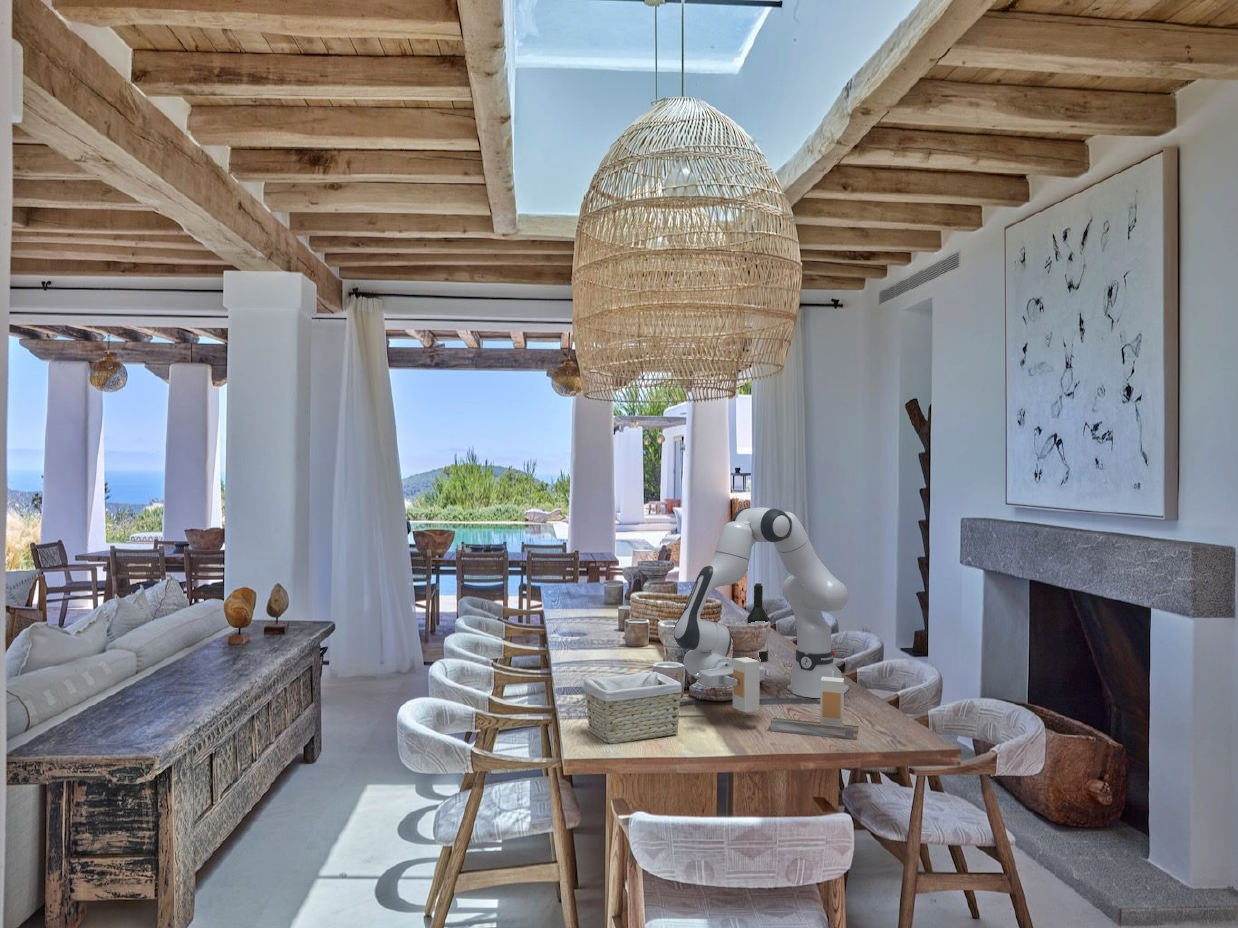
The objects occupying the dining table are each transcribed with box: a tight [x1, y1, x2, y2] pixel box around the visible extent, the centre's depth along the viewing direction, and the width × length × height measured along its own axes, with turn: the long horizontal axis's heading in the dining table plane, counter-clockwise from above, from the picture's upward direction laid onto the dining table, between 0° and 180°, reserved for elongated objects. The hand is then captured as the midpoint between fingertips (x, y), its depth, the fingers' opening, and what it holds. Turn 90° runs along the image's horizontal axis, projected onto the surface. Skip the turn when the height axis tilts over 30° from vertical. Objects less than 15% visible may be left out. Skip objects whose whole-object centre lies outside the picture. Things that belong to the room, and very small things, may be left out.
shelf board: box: [766, 717, 860, 741], centre depth 244 cm, size 14×24×4 cm, turn 72°
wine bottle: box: [746, 583, 769, 663], centre depth 342 cm, size 8×8×30 cm
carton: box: [819, 677, 845, 726], centre depth 243 cm, size 5×6×14 cm
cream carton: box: [732, 656, 761, 713], centre depth 250 cm, size 5×6×14 cm
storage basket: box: [583, 671, 683, 744], centre depth 242 cm, size 24×16×15 cm
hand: (747, 681), depth 249 cm, fingers closed on cream carton, 5 cm apart
